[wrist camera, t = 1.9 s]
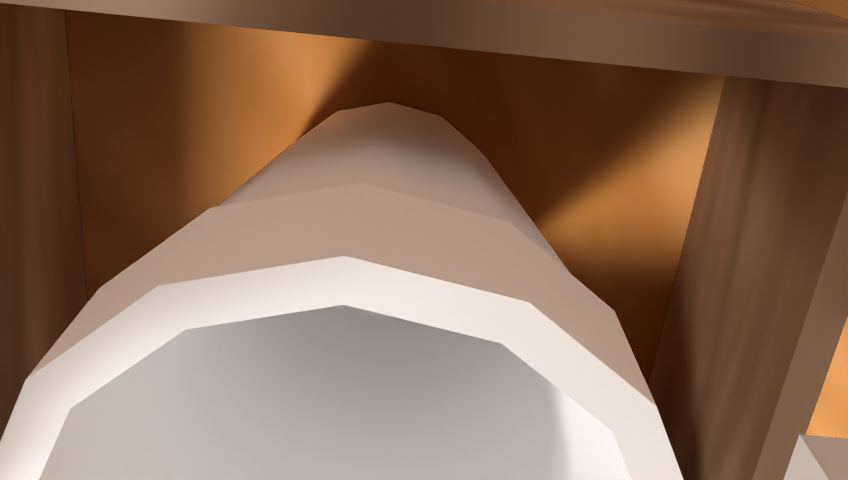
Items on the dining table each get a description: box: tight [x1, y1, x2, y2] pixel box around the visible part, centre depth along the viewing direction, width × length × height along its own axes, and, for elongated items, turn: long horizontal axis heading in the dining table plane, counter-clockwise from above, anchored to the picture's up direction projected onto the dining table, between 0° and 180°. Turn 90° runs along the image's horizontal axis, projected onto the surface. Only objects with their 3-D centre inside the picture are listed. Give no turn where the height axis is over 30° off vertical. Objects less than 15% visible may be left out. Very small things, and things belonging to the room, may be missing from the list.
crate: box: [0, 0, 848, 480], centre depth 19 cm, size 19×14×7 cm
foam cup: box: [0, 102, 683, 480], centre depth 17 cm, size 10×9×13 cm
